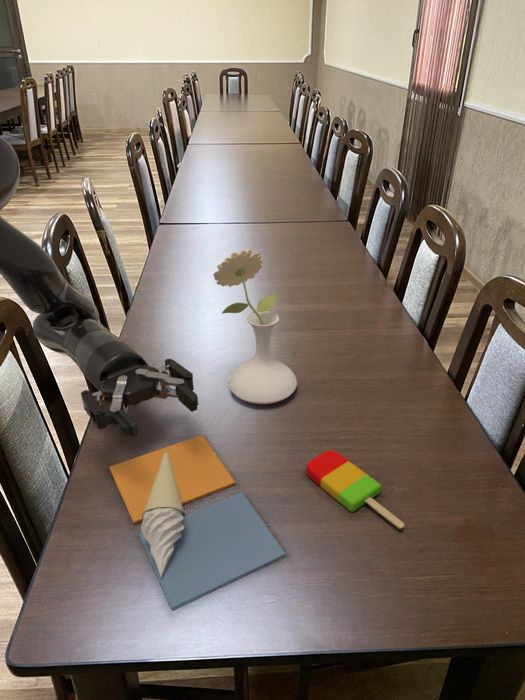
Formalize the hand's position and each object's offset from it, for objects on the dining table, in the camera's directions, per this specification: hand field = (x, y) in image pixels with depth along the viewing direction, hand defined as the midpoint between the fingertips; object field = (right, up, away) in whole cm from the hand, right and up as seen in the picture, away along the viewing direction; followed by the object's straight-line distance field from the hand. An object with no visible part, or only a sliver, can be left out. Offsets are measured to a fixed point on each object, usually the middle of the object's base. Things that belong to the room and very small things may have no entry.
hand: (166, 418), depth 68 cm
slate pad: (+6, -15, -4) cm, 16 cm away
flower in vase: (+11, +2, +23) cm, 26 cm away
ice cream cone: (0, -4, 0) cm, 4 cm away
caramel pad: (0, -9, +6) cm, 10 cm away
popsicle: (+24, -11, +3) cm, 27 cm away
